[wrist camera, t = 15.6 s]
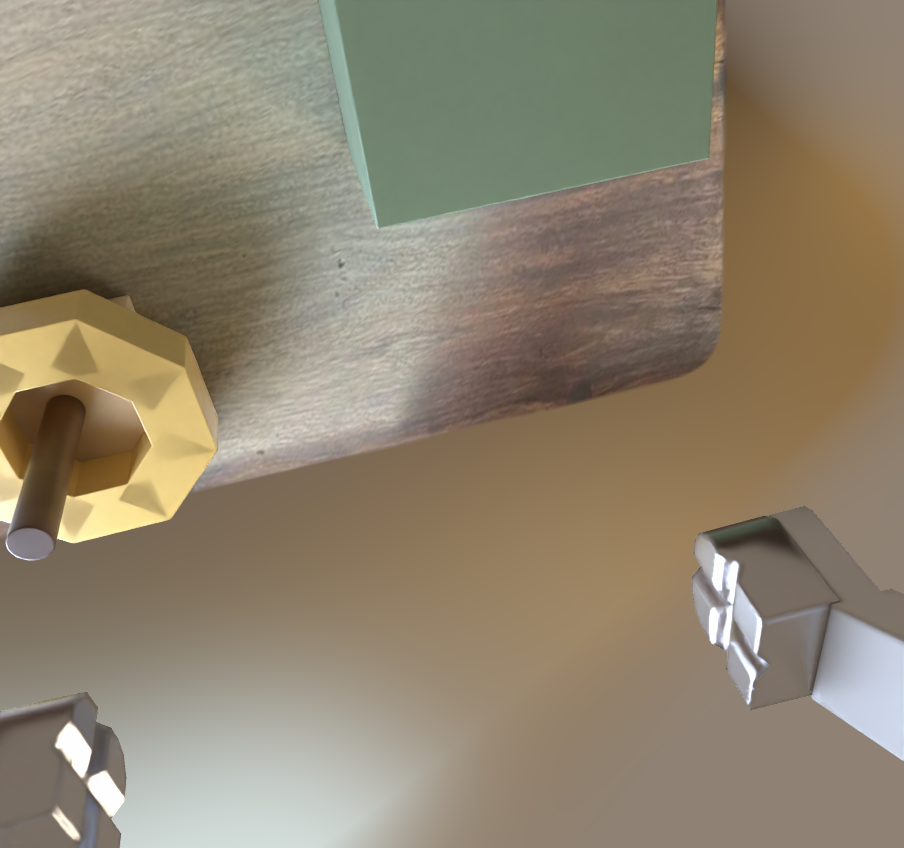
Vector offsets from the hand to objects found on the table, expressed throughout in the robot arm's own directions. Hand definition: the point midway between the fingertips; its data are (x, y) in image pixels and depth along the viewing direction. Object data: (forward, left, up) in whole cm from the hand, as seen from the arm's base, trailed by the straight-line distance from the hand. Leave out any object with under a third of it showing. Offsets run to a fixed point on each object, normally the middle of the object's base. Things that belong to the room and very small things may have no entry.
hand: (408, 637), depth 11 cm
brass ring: (+13, +13, -30) cm, 35 cm away
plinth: (-8, -2, -31) cm, 32 cm away
